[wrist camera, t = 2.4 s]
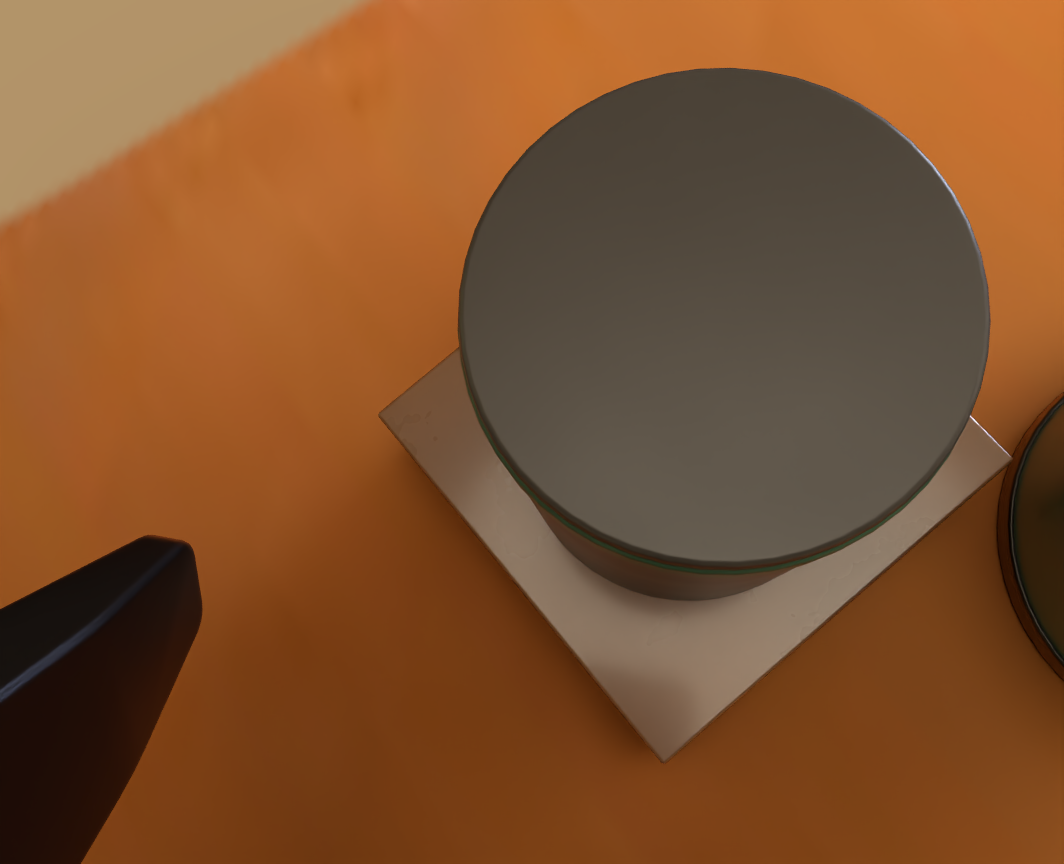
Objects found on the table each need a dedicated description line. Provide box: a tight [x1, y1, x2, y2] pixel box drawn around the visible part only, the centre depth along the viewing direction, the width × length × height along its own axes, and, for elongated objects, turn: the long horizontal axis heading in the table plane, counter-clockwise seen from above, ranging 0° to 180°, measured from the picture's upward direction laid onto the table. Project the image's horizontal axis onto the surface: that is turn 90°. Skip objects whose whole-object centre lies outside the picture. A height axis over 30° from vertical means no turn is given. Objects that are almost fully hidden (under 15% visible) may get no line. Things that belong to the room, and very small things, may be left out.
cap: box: [458, 68, 991, 601], centre depth 15 cm, size 6×6×8 cm
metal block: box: [378, 347, 1013, 764], centre depth 21 cm, size 8×8×3 cm
